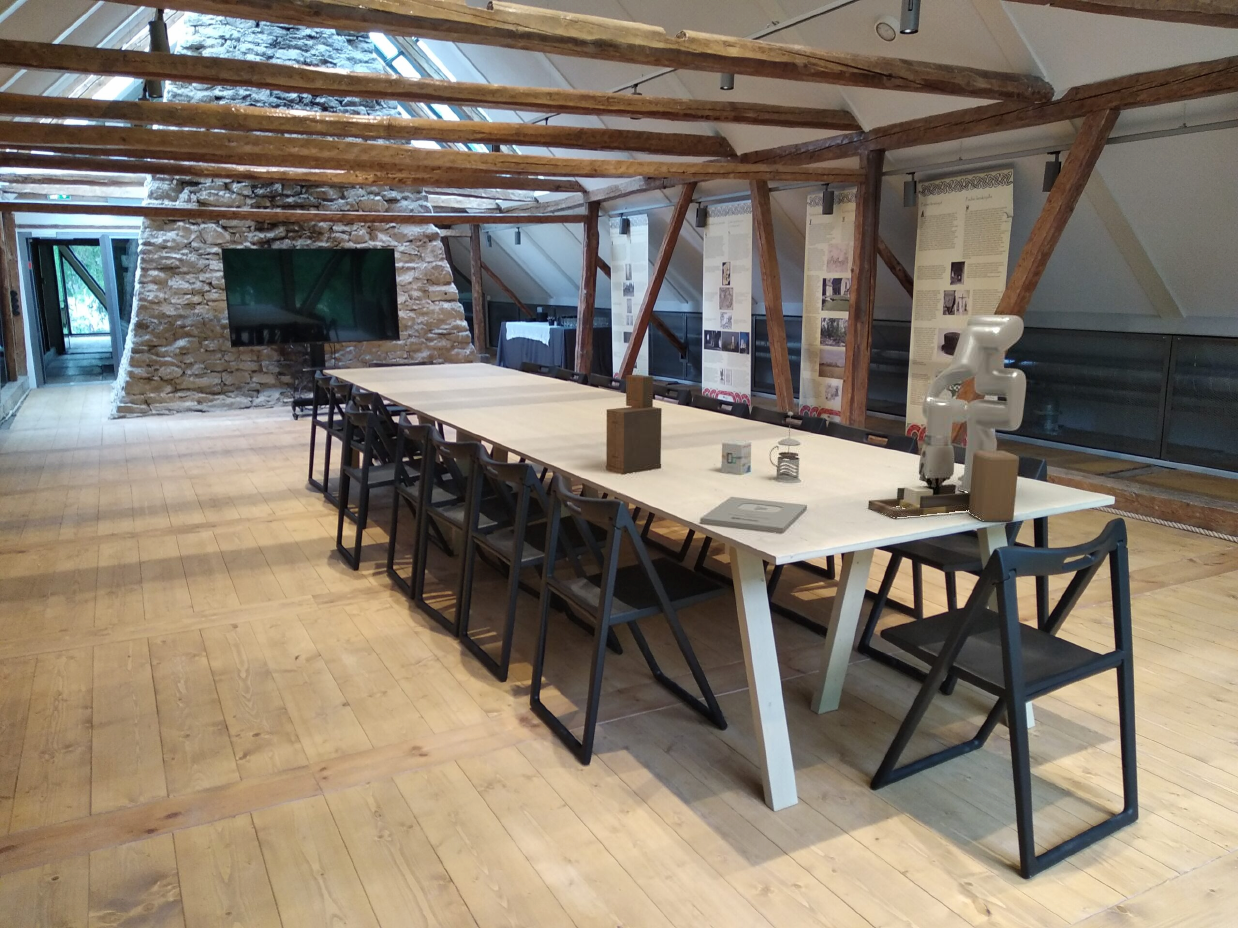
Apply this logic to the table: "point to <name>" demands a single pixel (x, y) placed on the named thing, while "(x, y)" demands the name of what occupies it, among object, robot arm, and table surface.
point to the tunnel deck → (924, 503)
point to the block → (993, 485)
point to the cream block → (916, 494)
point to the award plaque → (754, 514)
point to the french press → (787, 461)
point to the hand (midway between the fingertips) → (933, 498)
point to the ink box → (736, 457)
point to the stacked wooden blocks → (634, 430)
